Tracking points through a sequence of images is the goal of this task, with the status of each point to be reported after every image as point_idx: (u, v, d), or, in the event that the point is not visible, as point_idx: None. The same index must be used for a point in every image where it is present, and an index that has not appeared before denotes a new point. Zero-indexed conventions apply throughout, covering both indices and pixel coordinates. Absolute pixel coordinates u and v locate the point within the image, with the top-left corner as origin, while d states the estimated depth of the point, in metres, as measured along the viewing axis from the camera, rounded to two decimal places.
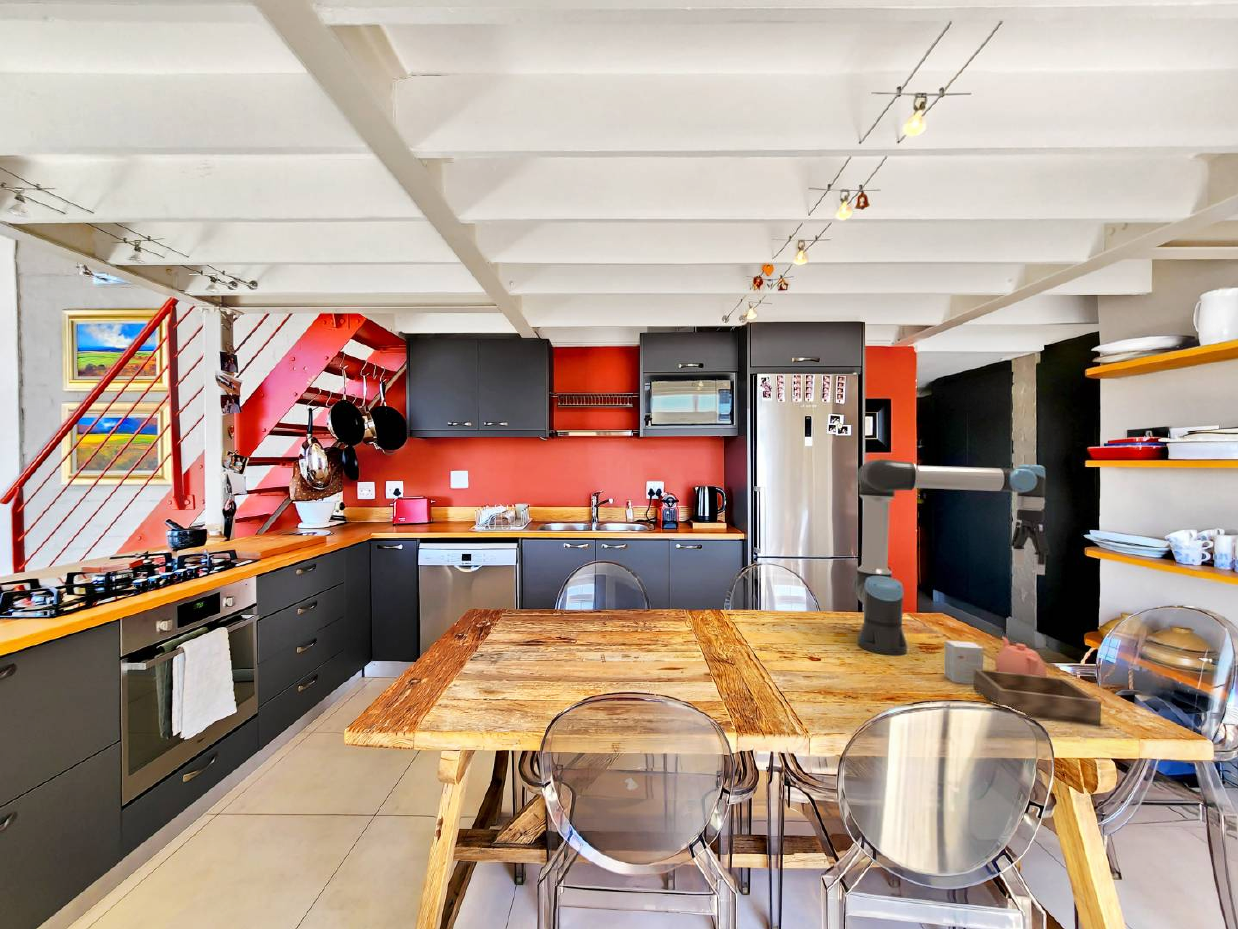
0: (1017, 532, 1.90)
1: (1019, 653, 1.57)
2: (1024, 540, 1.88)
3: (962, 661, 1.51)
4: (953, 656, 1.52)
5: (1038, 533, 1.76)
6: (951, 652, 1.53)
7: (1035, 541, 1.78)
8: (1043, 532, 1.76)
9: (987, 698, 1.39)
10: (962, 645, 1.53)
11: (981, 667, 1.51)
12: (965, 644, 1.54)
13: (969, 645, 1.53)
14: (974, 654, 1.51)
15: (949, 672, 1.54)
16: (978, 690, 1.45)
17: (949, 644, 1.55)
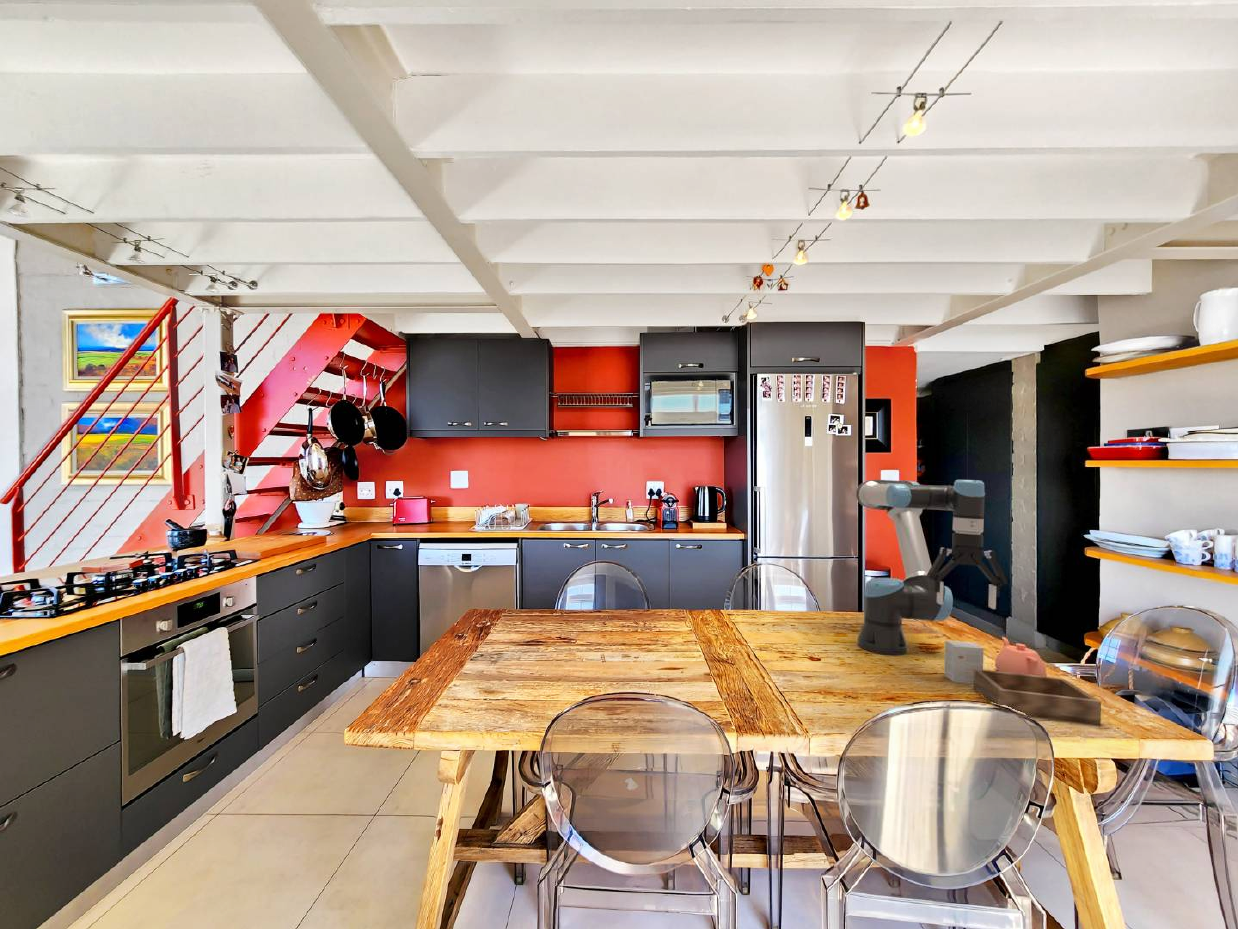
0: (990, 563, 1.54)
1: (1019, 653, 1.57)
2: (985, 572, 1.53)
3: (962, 661, 1.51)
4: (953, 656, 1.52)
5: (938, 556, 1.57)
6: (951, 652, 1.53)
7: (944, 566, 1.56)
8: (940, 556, 1.55)
9: (987, 698, 1.39)
10: (962, 645, 1.53)
11: (981, 667, 1.51)
12: (965, 644, 1.54)
13: (969, 645, 1.53)
14: (974, 654, 1.51)
15: (949, 672, 1.54)
16: (978, 690, 1.45)
17: (949, 644, 1.55)
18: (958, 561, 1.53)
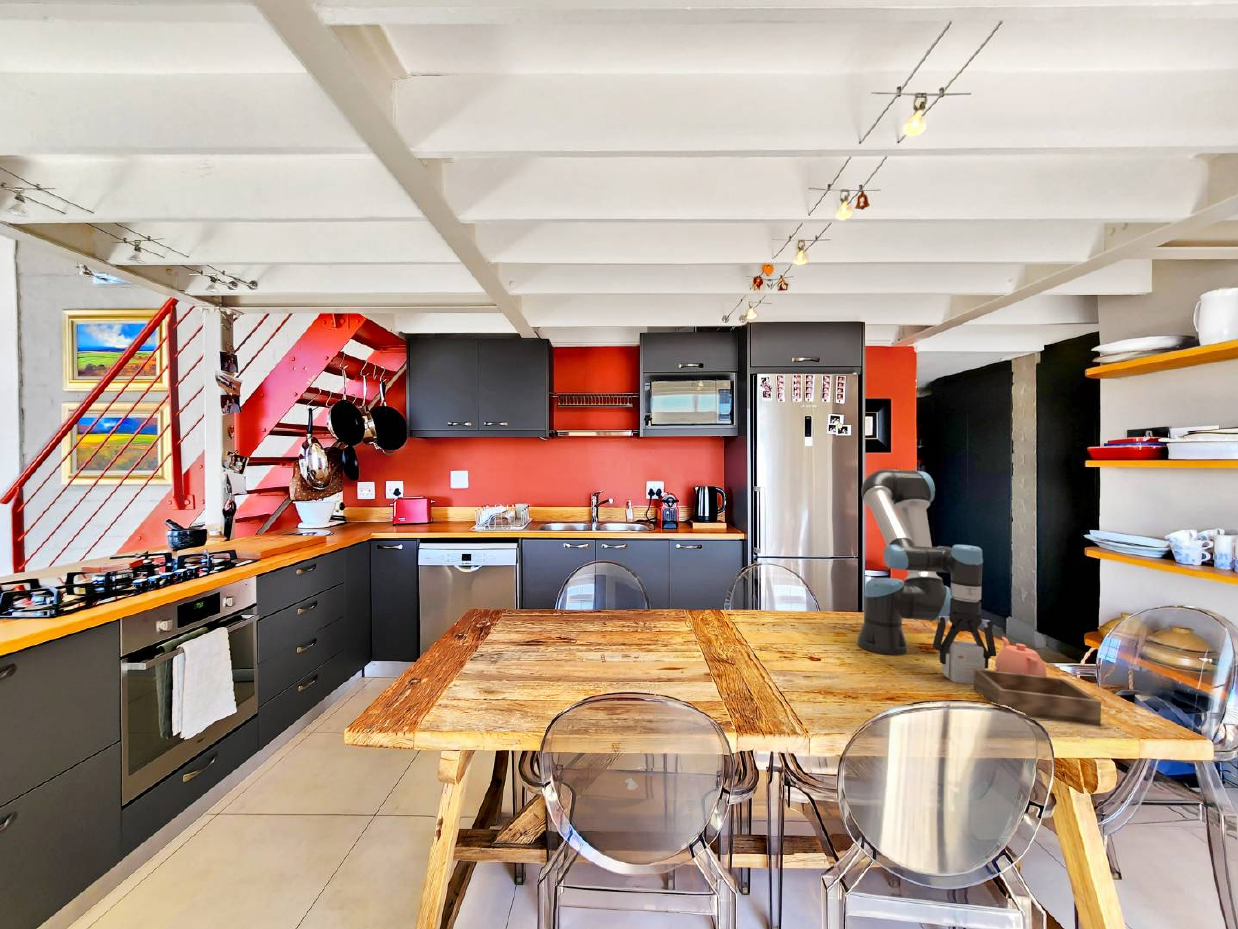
0: (985, 632, 1.54)
1: (1019, 653, 1.57)
2: (977, 641, 1.53)
3: (962, 661, 1.51)
4: (953, 656, 1.52)
5: (938, 625, 1.56)
6: (951, 652, 1.53)
7: (946, 636, 1.56)
8: (940, 625, 1.55)
9: (987, 698, 1.39)
10: (962, 645, 1.53)
11: (981, 667, 1.51)
12: (965, 644, 1.54)
13: (969, 645, 1.53)
14: (974, 653, 1.51)
15: (949, 671, 1.54)
16: (978, 690, 1.45)
17: None
18: (958, 629, 1.53)
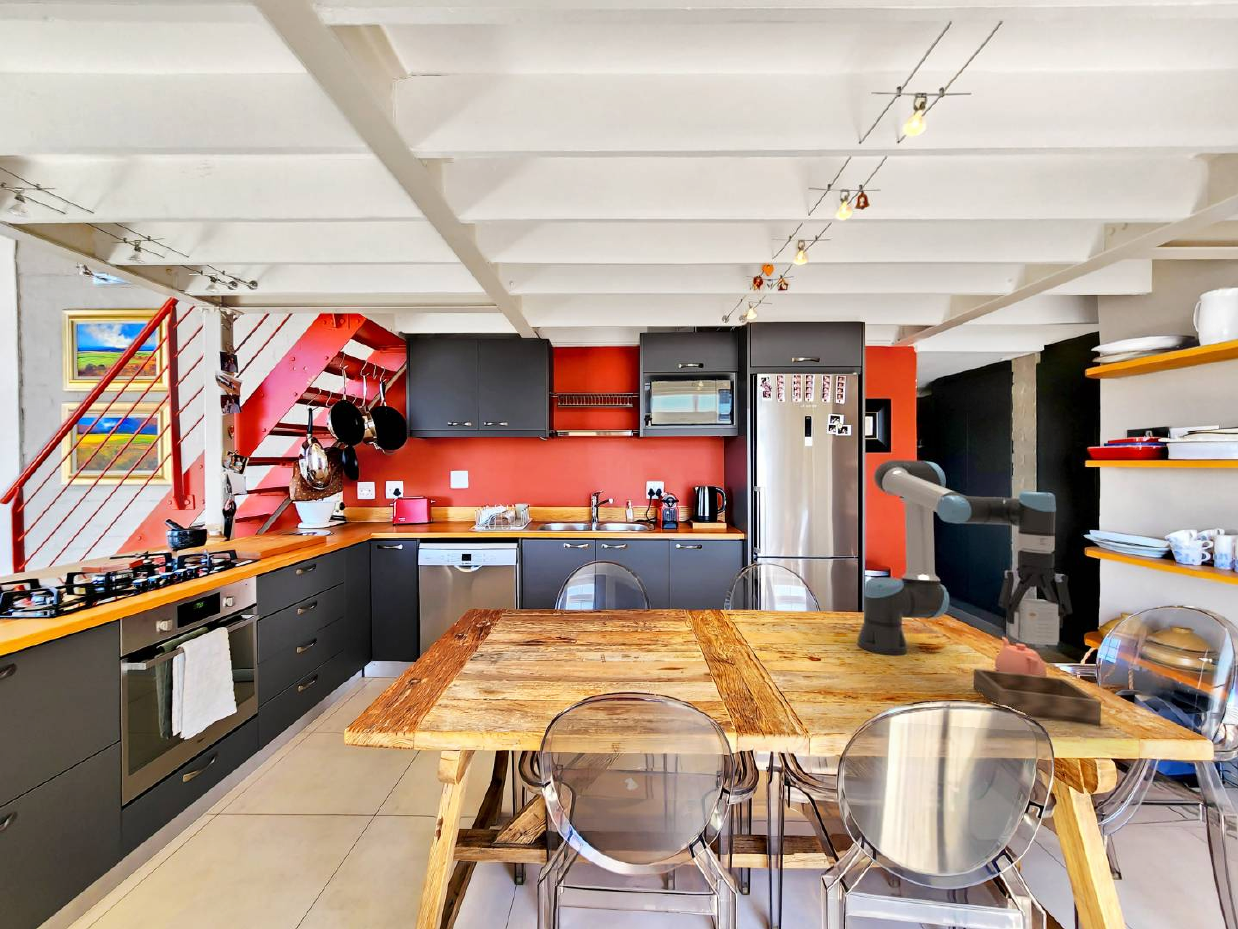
0: (1058, 588, 1.38)
1: (1019, 653, 1.57)
2: (1050, 598, 1.37)
3: (1034, 619, 1.36)
4: (1023, 614, 1.36)
5: (1004, 581, 1.41)
6: (1021, 610, 1.37)
7: (1014, 592, 1.40)
8: (1007, 580, 1.39)
9: (987, 698, 1.39)
10: (1033, 602, 1.37)
11: (1055, 626, 1.35)
12: (1036, 601, 1.38)
13: (1041, 602, 1.37)
14: (1047, 611, 1.35)
15: (1019, 632, 1.38)
16: (978, 690, 1.45)
17: None
18: (1028, 584, 1.37)
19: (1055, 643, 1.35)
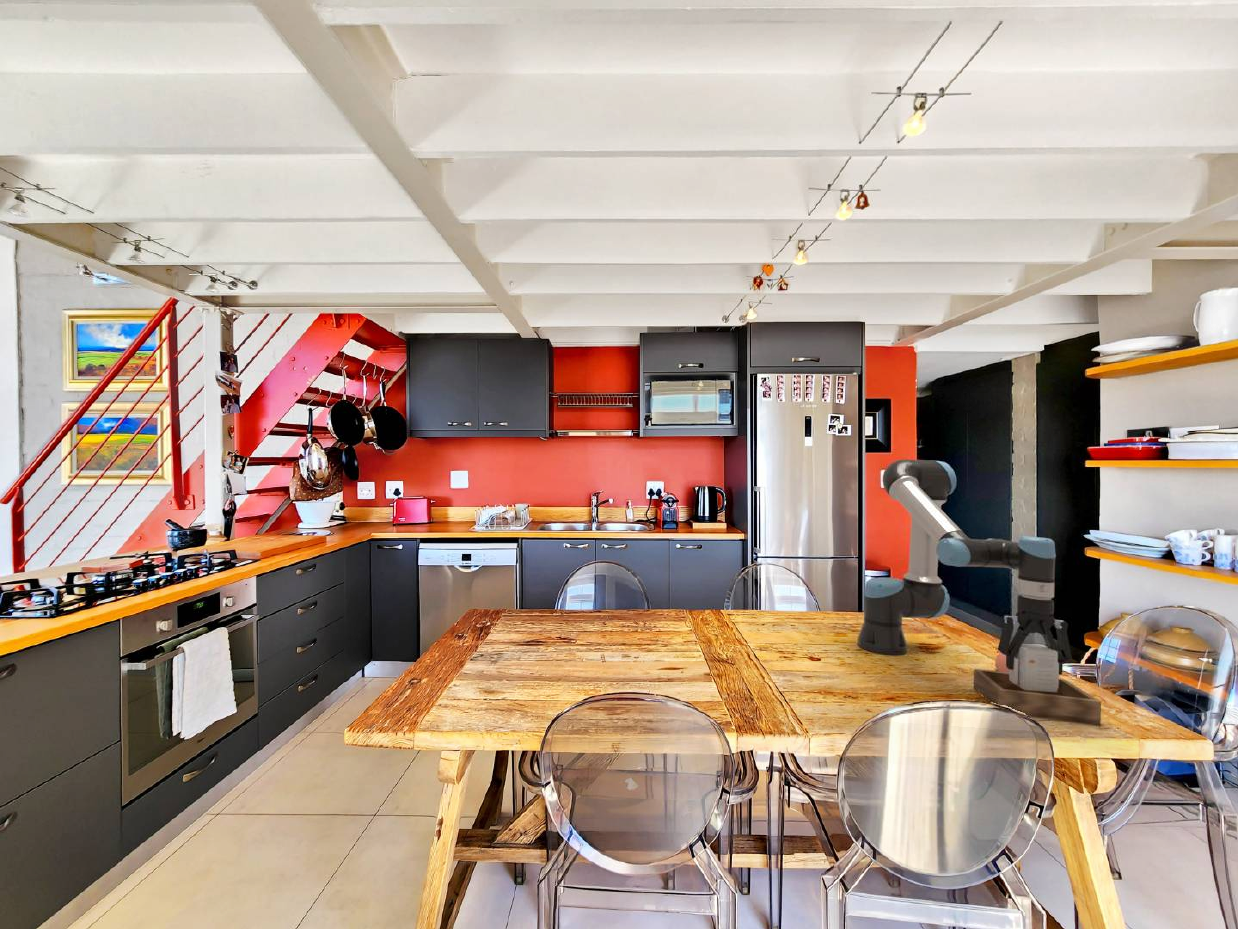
0: (1057, 634, 1.38)
1: None
2: (1049, 644, 1.37)
3: (1034, 666, 1.35)
4: (1023, 660, 1.36)
5: (1003, 626, 1.40)
6: (1020, 656, 1.37)
7: (1014, 638, 1.40)
8: (1007, 626, 1.39)
9: (987, 698, 1.39)
10: (1033, 648, 1.36)
11: (1055, 673, 1.35)
12: (1036, 647, 1.37)
13: (1041, 648, 1.37)
14: (1047, 658, 1.35)
15: (1018, 678, 1.38)
16: (978, 690, 1.45)
17: None
18: (1028, 631, 1.37)
19: (1055, 690, 1.35)
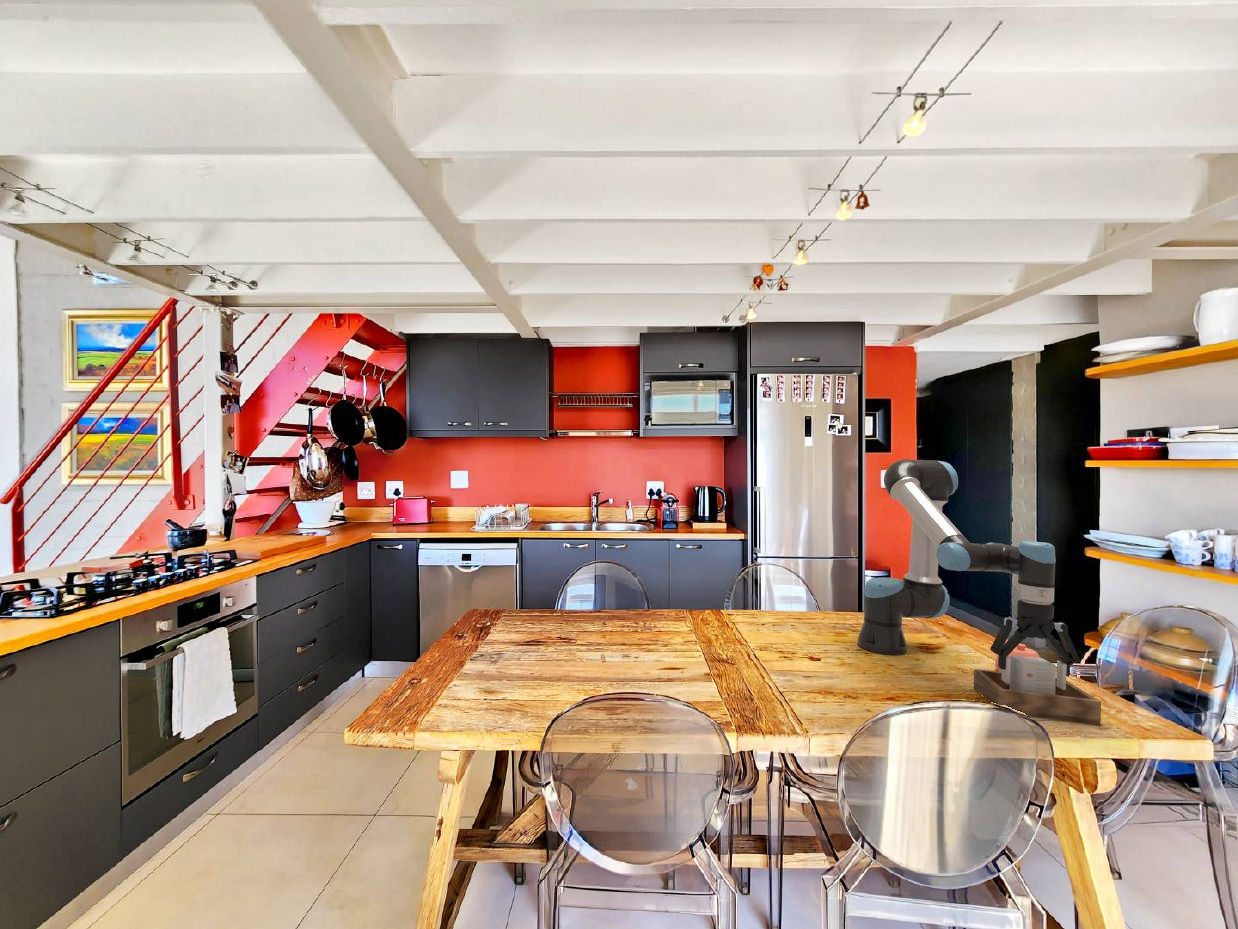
0: (1060, 637, 1.37)
1: (1019, 653, 1.57)
2: (1054, 648, 1.36)
3: (1032, 679, 1.35)
4: (1021, 674, 1.36)
5: (1001, 628, 1.40)
6: (1018, 670, 1.37)
7: (1009, 639, 1.40)
8: (1005, 628, 1.39)
9: (987, 698, 1.39)
10: (1031, 661, 1.37)
11: (1053, 687, 1.35)
12: (1034, 660, 1.38)
13: (1039, 662, 1.37)
14: (1045, 671, 1.35)
15: None
16: (978, 690, 1.45)
17: (1015, 660, 1.39)
18: (1026, 634, 1.37)
19: None
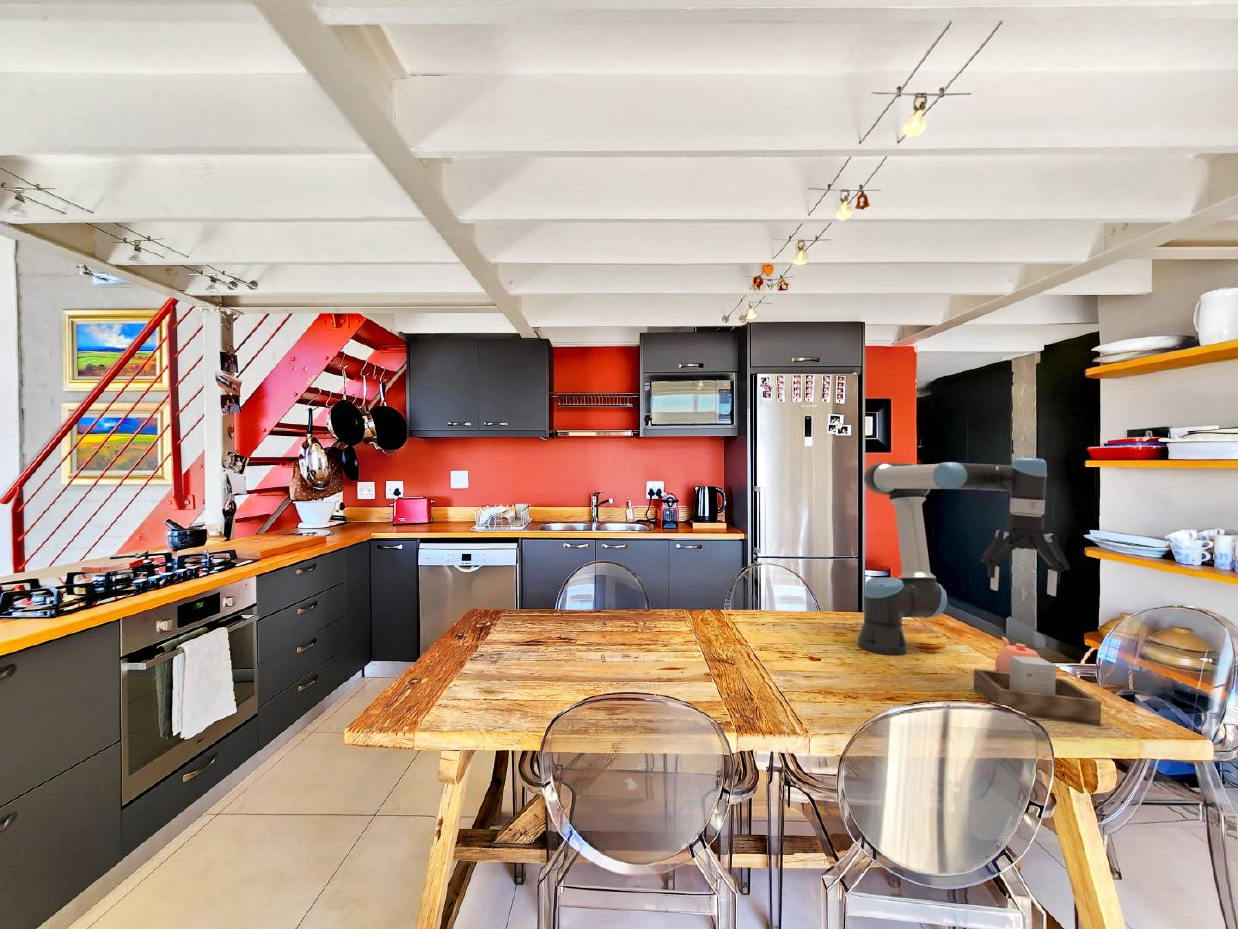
0: (1050, 547, 1.44)
1: (1019, 653, 1.57)
2: (1044, 557, 1.43)
3: (1032, 679, 1.35)
4: (1021, 674, 1.36)
5: (993, 539, 1.47)
6: (1018, 670, 1.37)
7: (1000, 550, 1.47)
8: (996, 539, 1.46)
9: (987, 698, 1.39)
10: (1031, 661, 1.37)
11: (1053, 687, 1.35)
12: (1034, 660, 1.38)
13: (1039, 662, 1.37)
14: (1045, 671, 1.35)
15: None
16: (978, 690, 1.45)
17: (1015, 660, 1.39)
18: (1016, 545, 1.44)
19: None
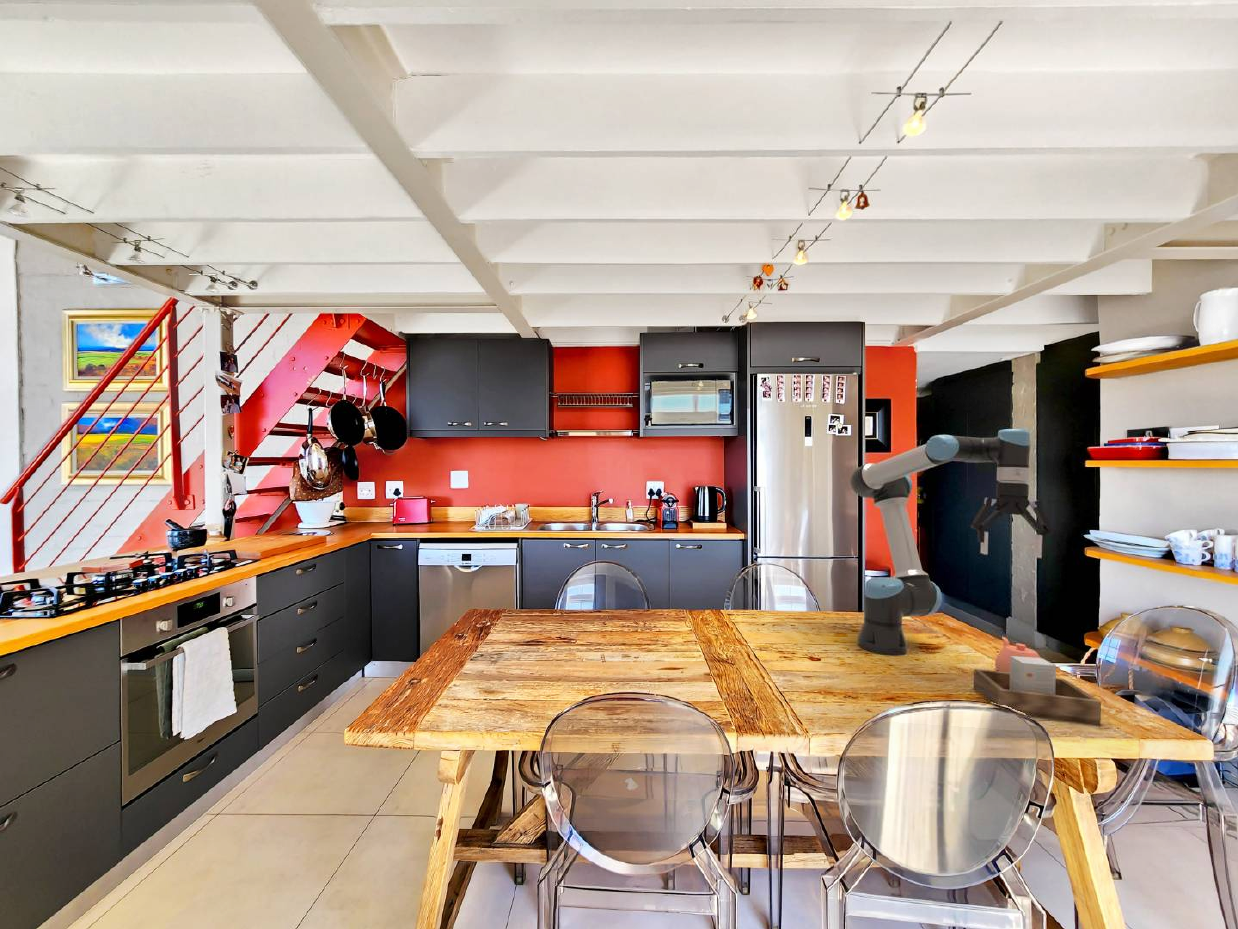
0: (1035, 513, 1.53)
1: (1019, 653, 1.57)
2: (1030, 522, 1.52)
3: (1032, 679, 1.35)
4: (1021, 674, 1.36)
5: (982, 507, 1.56)
6: (1018, 670, 1.37)
7: (988, 517, 1.56)
8: (985, 506, 1.55)
9: (987, 698, 1.39)
10: (1031, 661, 1.37)
11: (1053, 687, 1.35)
12: (1034, 660, 1.38)
13: (1039, 662, 1.37)
14: (1045, 671, 1.35)
15: None
16: (978, 690, 1.45)
17: (1015, 660, 1.39)
18: (1003, 510, 1.53)
19: None
